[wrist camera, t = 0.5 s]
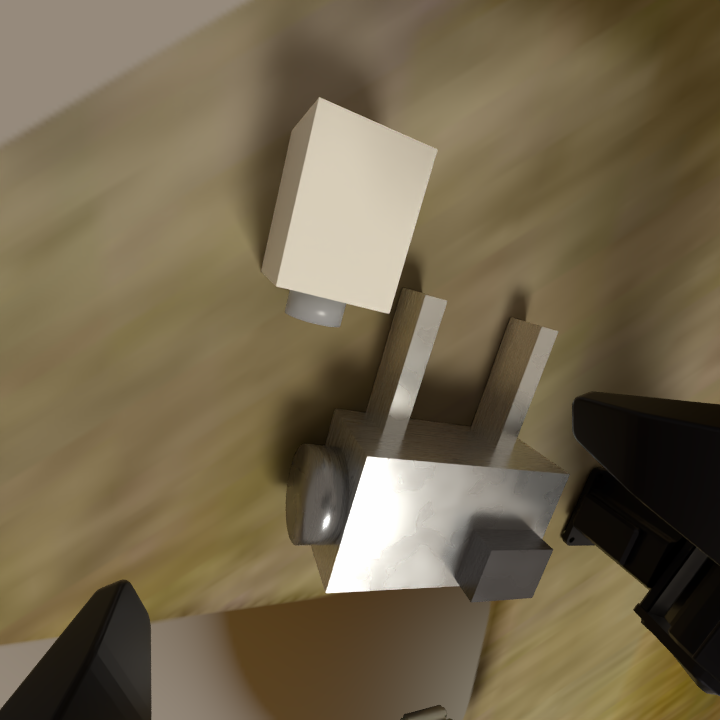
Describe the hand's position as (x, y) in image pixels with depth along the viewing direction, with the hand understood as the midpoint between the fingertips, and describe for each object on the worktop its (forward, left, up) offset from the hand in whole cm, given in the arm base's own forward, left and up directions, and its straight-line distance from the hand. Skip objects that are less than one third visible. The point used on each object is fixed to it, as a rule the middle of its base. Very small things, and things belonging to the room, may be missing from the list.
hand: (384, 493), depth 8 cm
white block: (-1, -5, -13) cm, 14 cm away
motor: (-9, +3, -13) cm, 16 cm away
